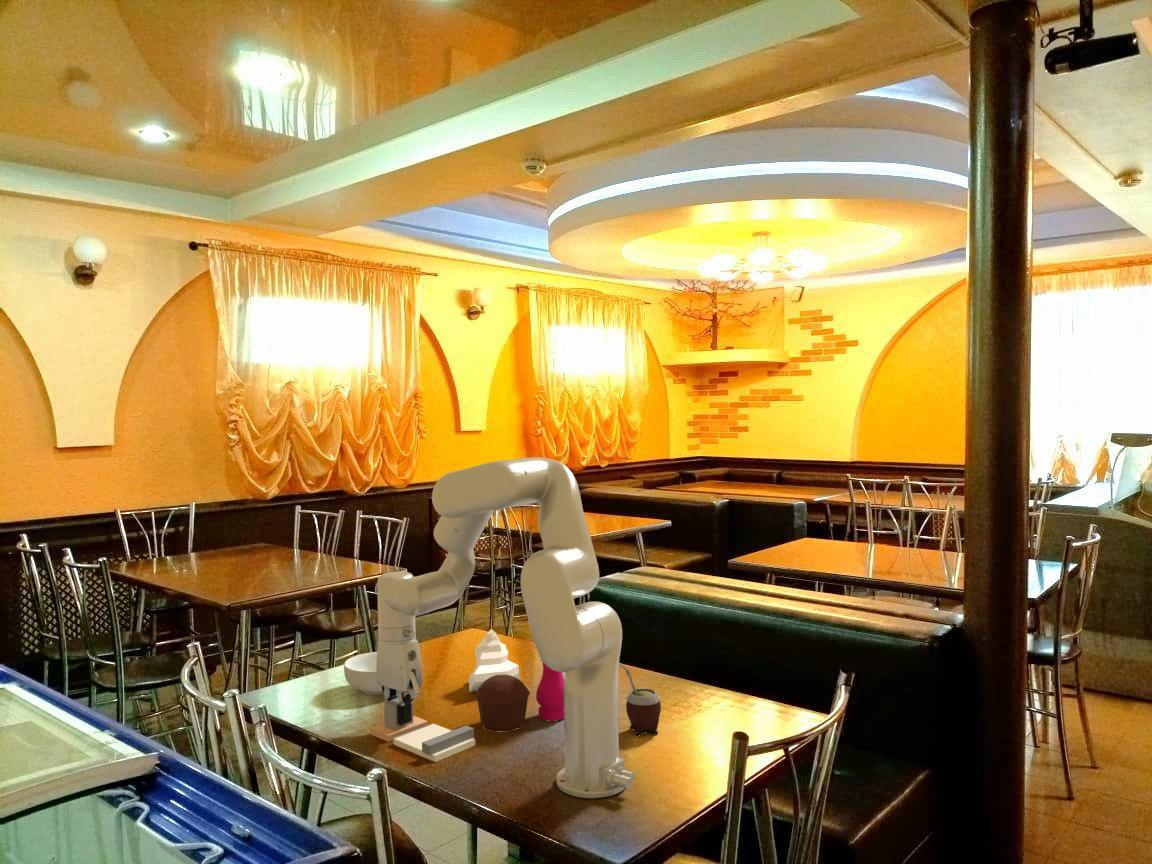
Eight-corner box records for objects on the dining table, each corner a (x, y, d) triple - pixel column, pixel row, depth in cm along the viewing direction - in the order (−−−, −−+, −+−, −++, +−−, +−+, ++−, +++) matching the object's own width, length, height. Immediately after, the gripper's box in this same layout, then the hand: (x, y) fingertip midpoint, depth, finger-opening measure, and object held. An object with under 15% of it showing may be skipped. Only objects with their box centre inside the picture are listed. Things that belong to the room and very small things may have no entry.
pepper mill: (565, 723, 171) (564, 628, 171) (532, 721, 172) (531, 627, 172) (572, 711, 178) (571, 620, 178) (540, 709, 179) (539, 619, 179)
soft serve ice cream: (451, 693, 195) (448, 632, 199) (506, 686, 204) (502, 628, 207) (474, 693, 185) (471, 630, 189) (531, 686, 194) (527, 625, 197)
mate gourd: (667, 729, 167) (666, 656, 167) (648, 742, 160) (647, 666, 160) (635, 722, 171) (634, 651, 171) (616, 734, 165) (615, 661, 164)
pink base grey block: (428, 726, 170) (427, 697, 170) (388, 741, 162) (387, 711, 162) (409, 719, 174) (408, 690, 174) (369, 733, 167) (368, 703, 167)
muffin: (465, 723, 172) (464, 676, 172) (508, 710, 179) (507, 665, 179) (497, 740, 163) (496, 690, 163) (541, 725, 170) (540, 678, 170)
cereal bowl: (400, 703, 185) (400, 672, 185) (332, 700, 187) (331, 670, 187) (426, 679, 202) (425, 651, 201) (362, 677, 204) (362, 649, 204)
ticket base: (477, 744, 161) (477, 729, 161) (433, 762, 152) (432, 747, 152) (434, 728, 169) (434, 714, 169) (390, 745, 161) (390, 730, 161)
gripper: (436, 635, 165) (438, 725, 166) (388, 622, 176) (390, 707, 177) (406, 643, 160) (408, 736, 160) (358, 630, 171) (360, 717, 171)
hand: (398, 720), depth 168 cm, fingers closed on pink base grey block, 3 cm apart
